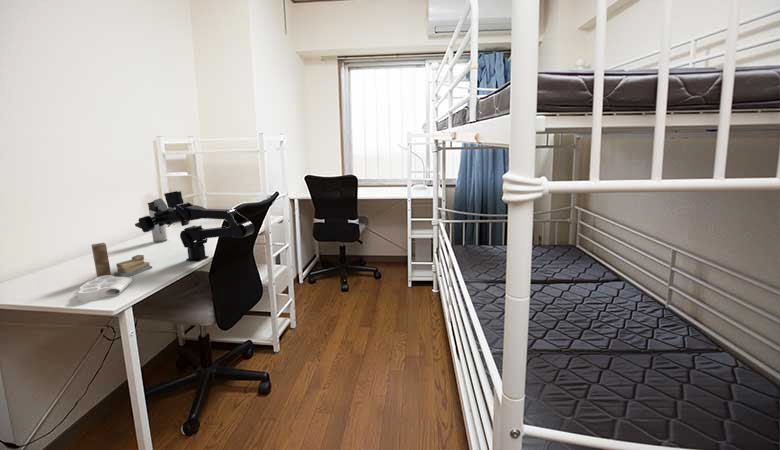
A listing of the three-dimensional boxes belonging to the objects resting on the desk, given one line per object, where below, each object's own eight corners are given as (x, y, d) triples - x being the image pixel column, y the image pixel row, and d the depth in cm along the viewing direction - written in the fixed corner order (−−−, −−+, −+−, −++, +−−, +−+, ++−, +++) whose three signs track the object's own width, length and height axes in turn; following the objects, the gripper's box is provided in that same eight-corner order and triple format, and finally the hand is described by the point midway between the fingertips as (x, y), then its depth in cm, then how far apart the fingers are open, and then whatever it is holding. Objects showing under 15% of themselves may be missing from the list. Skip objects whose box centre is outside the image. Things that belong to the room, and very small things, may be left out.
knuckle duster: (117, 299, 136) (66, 304, 132) (136, 281, 153) (91, 285, 149) (115, 290, 135) (64, 294, 132) (134, 272, 152) (89, 276, 149)
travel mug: (156, 240, 213) (150, 201, 209) (169, 239, 214) (164, 201, 210) (150, 243, 207) (144, 203, 203) (164, 242, 208) (158, 203, 204)
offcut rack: (151, 268, 167) (149, 254, 166) (127, 276, 157) (124, 262, 155) (139, 266, 169) (136, 253, 168) (113, 275, 159) (111, 260, 158)
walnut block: (109, 275, 159) (104, 242, 156) (111, 277, 156) (105, 244, 154) (97, 277, 157) (91, 244, 154) (98, 280, 154) (92, 246, 151)
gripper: (180, 193, 183) (152, 199, 187) (149, 204, 166) (119, 210, 170) (189, 217, 186) (161, 222, 190) (159, 230, 169) (129, 235, 173)
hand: (143, 221), depth 181 cm, fingers open, 9 cm apart
